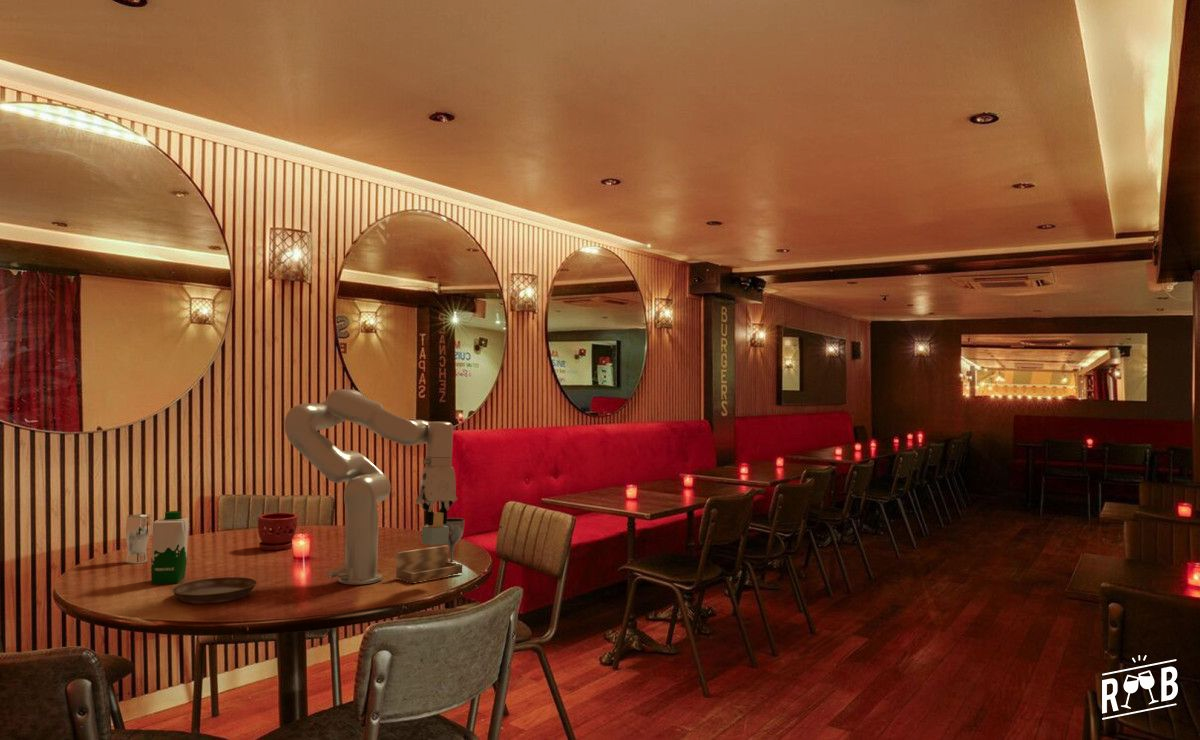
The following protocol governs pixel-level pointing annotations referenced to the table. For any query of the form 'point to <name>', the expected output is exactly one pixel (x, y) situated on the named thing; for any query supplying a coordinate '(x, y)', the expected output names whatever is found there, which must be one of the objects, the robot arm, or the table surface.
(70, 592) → the table surface
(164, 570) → the milk carton
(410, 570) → the board
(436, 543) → the grey square block
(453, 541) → the wine glass
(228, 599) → the plant saucer
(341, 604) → the table surface
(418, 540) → the table surface
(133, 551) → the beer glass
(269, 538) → the plant pot
